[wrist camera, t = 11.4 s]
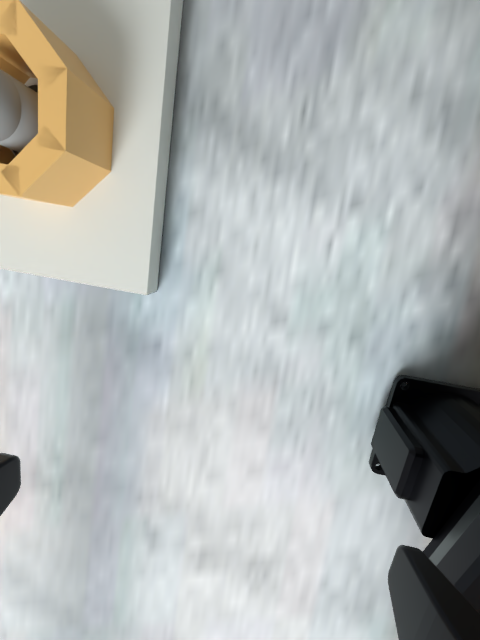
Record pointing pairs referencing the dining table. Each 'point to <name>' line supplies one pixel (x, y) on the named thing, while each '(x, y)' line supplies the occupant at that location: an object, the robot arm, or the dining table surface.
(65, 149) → the collar
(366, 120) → the dining table surface
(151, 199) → the shaft board
